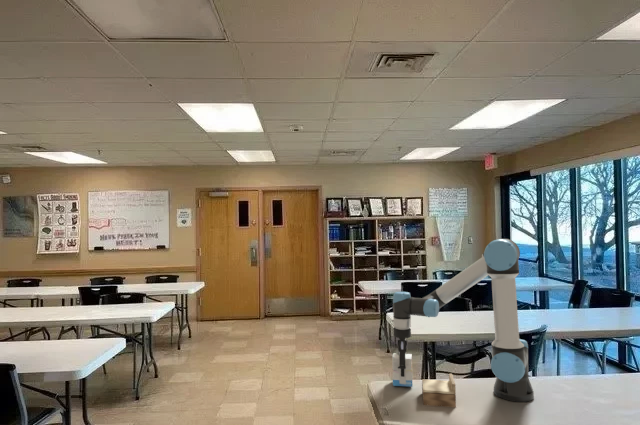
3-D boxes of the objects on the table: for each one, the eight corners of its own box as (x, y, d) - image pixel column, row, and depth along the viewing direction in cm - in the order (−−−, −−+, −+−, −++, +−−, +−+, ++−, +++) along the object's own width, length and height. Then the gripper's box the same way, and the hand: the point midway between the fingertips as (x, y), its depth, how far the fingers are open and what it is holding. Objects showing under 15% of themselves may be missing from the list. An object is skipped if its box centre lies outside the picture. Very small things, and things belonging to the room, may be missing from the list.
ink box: (412, 387, 180) (412, 355, 181) (392, 385, 182) (392, 354, 183) (412, 380, 189) (411, 349, 189) (393, 378, 191) (392, 348, 191)
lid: (452, 383, 174) (452, 373, 174) (455, 394, 162) (455, 384, 162) (422, 381, 176) (422, 371, 176) (423, 392, 164) (423, 382, 165)
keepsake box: (452, 397, 174) (452, 383, 174) (455, 409, 162) (455, 395, 162) (422, 395, 176) (422, 381, 176) (423, 407, 164) (423, 392, 164)
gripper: (394, 321, 198) (394, 371, 197) (392, 333, 177) (393, 388, 176) (410, 322, 196) (411, 372, 195) (411, 333, 175) (411, 389, 174)
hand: (402, 379), depth 186 cm, fingers closed on ink box, 8 cm apart
